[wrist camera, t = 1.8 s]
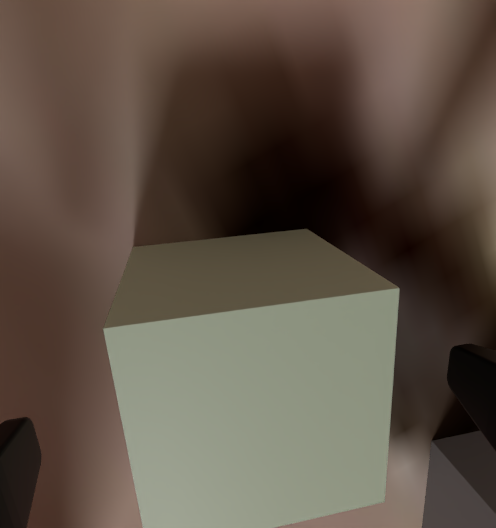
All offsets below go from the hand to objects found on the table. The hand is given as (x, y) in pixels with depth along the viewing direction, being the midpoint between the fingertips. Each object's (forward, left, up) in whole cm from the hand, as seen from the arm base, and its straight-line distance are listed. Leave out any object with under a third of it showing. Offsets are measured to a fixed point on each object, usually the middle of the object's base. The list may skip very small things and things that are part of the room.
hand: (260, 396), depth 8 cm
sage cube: (0, 0, -4) cm, 4 cm away
